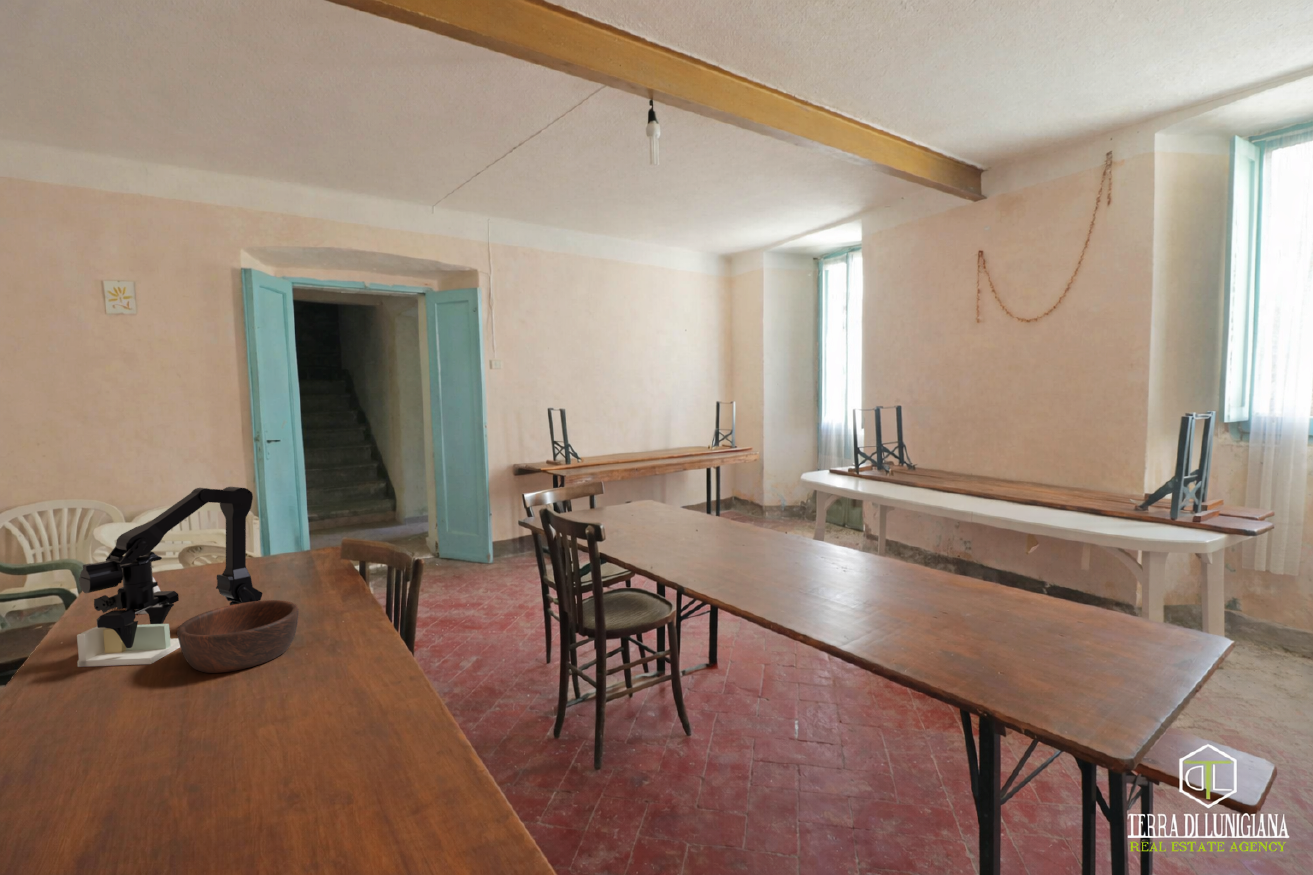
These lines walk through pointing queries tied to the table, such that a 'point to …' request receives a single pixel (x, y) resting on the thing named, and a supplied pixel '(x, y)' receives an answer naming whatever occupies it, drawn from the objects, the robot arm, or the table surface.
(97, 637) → the l-shaped pin bracket
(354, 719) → the table surface
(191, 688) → the table surface
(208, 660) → the wooden bowl
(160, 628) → the square socket tool
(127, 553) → the robot arm
